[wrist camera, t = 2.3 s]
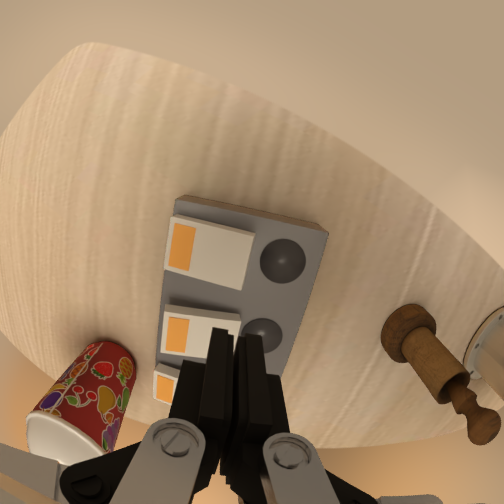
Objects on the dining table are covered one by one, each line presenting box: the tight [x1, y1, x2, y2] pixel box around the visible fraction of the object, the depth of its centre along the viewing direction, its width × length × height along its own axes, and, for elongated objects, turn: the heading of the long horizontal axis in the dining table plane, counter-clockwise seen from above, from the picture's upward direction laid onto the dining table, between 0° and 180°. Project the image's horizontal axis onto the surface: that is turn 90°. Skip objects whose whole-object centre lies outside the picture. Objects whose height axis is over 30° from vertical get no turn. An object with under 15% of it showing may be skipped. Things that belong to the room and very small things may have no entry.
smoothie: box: [26, 341, 136, 466], centre depth 20 cm, size 8×8×20 cm
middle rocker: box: [160, 304, 241, 358], centre depth 23 cm, size 6×4×1 cm, turn 77°
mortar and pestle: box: [381, 304, 501, 445], centre depth 21 cm, size 7×6×18 cm
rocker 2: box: [163, 214, 256, 290], centre depth 21 cm, size 6×4×1 cm, turn 77°
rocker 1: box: [153, 363, 180, 405], centre depth 25 cm, size 6×4×1 cm, turn 77°
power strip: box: [155, 195, 329, 379], centre depth 26 cm, size 12×20×4 cm, turn 167°
